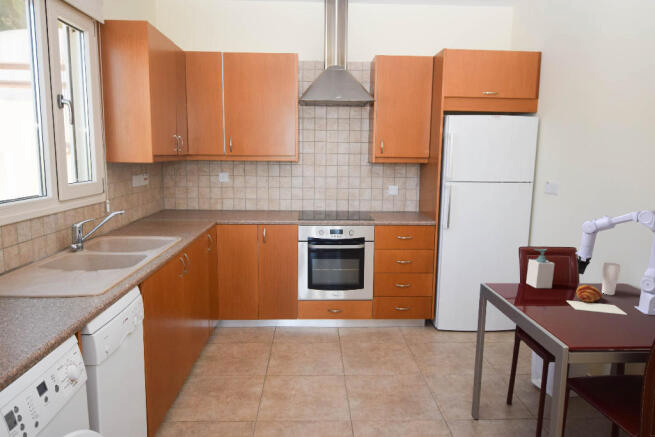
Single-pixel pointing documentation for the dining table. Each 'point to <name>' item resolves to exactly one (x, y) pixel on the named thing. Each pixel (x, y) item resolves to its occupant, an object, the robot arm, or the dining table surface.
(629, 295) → the dining table surface
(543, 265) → the soap bottle
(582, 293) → the croissant
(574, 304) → the mat
